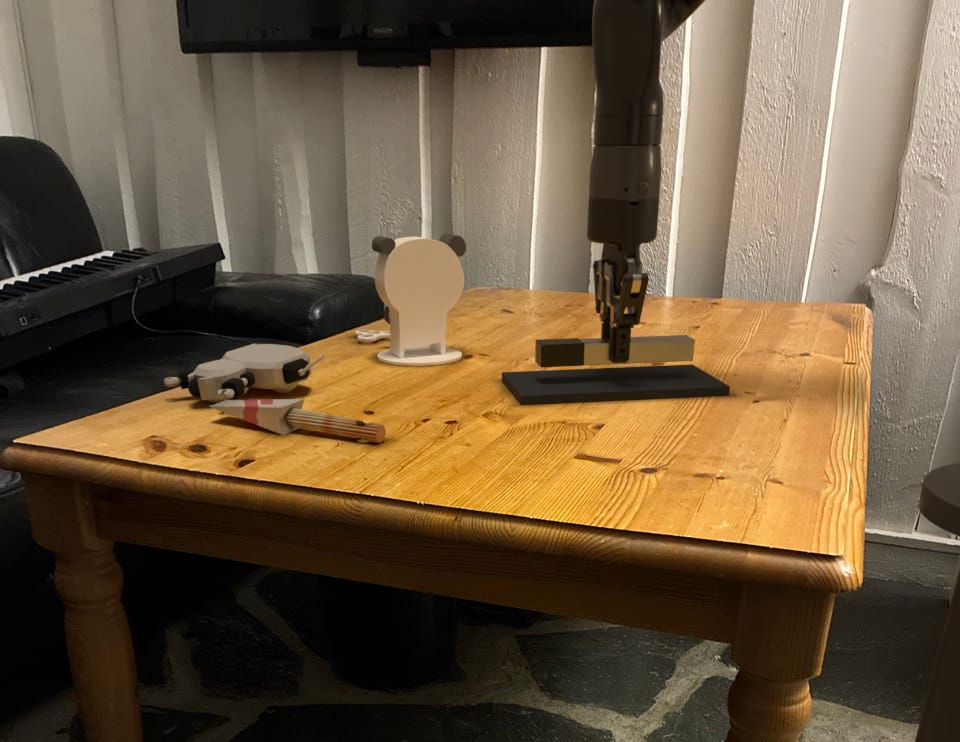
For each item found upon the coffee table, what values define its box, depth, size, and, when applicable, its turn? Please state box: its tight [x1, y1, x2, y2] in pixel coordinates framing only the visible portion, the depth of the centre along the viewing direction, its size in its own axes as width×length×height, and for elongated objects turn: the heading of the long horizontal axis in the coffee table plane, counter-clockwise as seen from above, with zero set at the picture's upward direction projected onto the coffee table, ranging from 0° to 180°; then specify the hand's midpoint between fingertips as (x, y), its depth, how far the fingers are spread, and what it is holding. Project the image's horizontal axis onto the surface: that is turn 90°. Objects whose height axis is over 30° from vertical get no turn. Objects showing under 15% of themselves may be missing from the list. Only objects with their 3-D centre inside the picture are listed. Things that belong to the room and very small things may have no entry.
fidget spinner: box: [354, 329, 390, 343], centre depth 137 cm, size 7×6×1 cm
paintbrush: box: [209, 398, 387, 444], centre depth 93 cm, size 4×3×20 cm
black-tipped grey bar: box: [534, 334, 696, 368], centre depth 108 cm, size 18×3×2 cm, turn 99°
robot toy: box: [163, 343, 325, 404], centre depth 106 cm, size 12×4×15 cm
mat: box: [501, 364, 731, 406], centre depth 109 cm, size 24×12×1 cm, turn 99°
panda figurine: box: [371, 233, 467, 367], centre depth 122 cm, size 12×11×15 cm
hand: (614, 358), depth 108 cm, fingers closed on black-tipped grey bar, 3 cm apart
